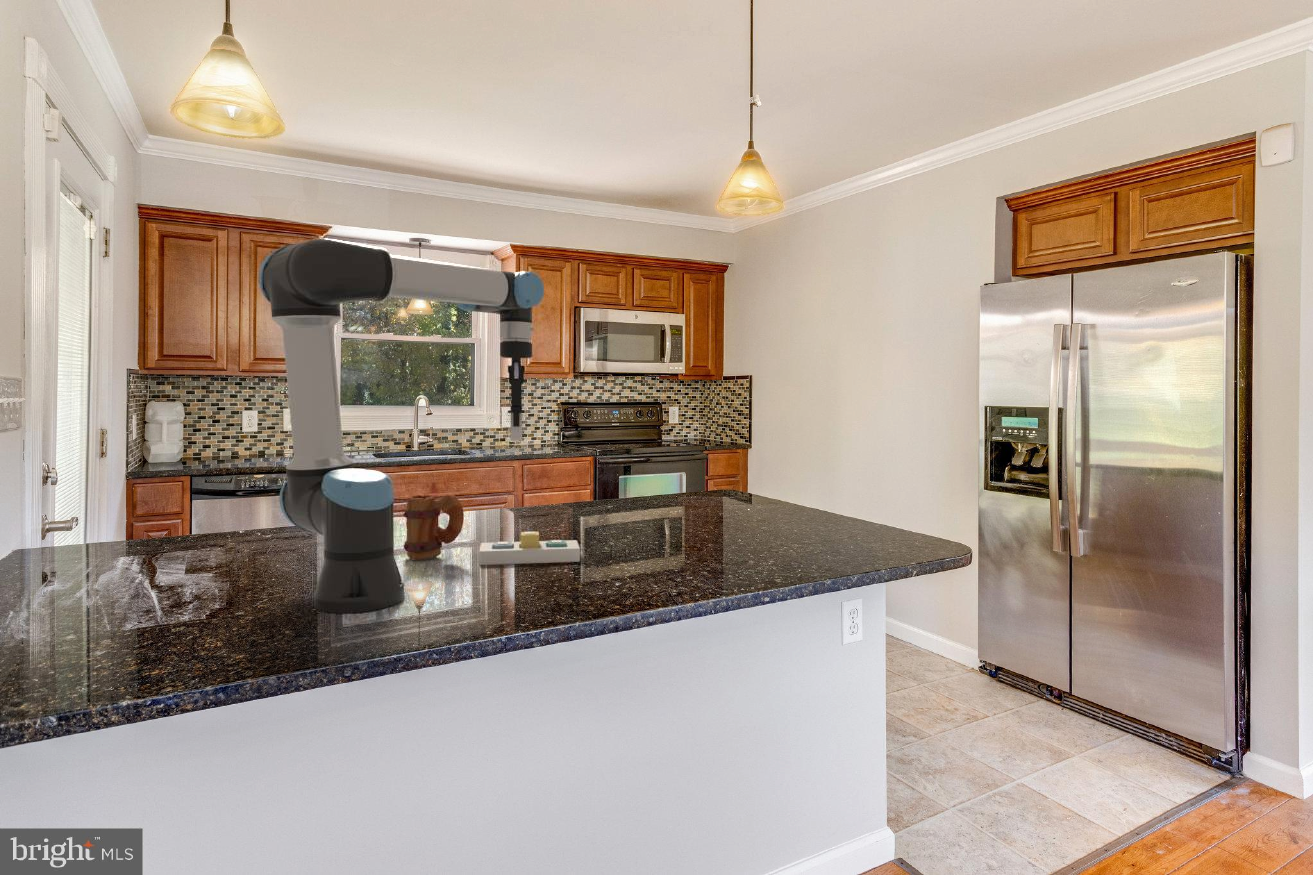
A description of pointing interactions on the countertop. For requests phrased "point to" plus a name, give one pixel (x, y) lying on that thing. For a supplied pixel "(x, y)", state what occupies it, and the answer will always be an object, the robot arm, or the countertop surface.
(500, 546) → the key
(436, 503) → the mug
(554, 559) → the keypad
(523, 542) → the key
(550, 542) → the key
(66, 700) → the countertop surface
